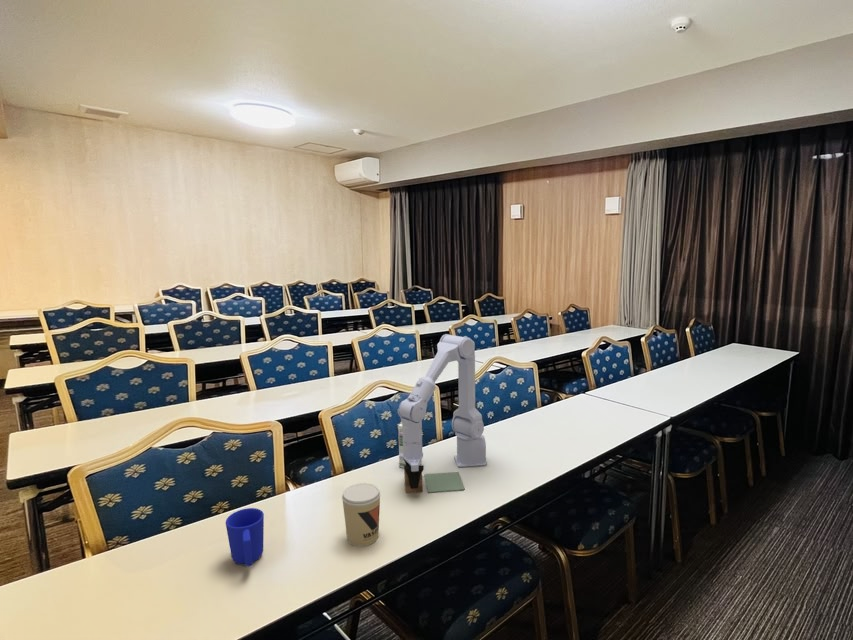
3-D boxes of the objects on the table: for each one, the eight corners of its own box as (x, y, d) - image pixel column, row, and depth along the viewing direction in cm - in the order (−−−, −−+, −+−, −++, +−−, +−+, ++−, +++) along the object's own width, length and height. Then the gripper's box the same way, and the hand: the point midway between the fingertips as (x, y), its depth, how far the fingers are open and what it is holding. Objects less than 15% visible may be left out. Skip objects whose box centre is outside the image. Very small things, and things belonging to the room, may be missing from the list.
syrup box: (398, 467, 152) (397, 425, 150) (407, 460, 157) (406, 419, 155) (413, 471, 150) (412, 428, 147) (422, 463, 155) (421, 421, 153)
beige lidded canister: (365, 553, 109) (363, 505, 107) (335, 540, 114) (333, 495, 112) (389, 532, 117) (387, 488, 115) (360, 522, 122) (358, 479, 120)
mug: (229, 584, 100) (225, 541, 98) (228, 551, 111) (225, 512, 109) (269, 573, 103) (266, 531, 101) (265, 542, 114) (262, 504, 112)
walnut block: (421, 483, 141) (420, 468, 141) (422, 491, 136) (422, 475, 136) (404, 484, 141) (404, 469, 140) (405, 493, 136) (405, 477, 135)
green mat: (458, 472, 148) (458, 471, 148) (465, 490, 137) (465, 489, 137) (424, 475, 146) (424, 474, 146) (428, 493, 136) (428, 491, 136)
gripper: (397, 431, 143) (398, 472, 145) (400, 451, 129) (401, 496, 131) (420, 429, 144) (421, 471, 146) (425, 449, 130) (426, 494, 132)
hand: (413, 483), depth 138 cm, fingers closed on walnut block, 5 cm apart
